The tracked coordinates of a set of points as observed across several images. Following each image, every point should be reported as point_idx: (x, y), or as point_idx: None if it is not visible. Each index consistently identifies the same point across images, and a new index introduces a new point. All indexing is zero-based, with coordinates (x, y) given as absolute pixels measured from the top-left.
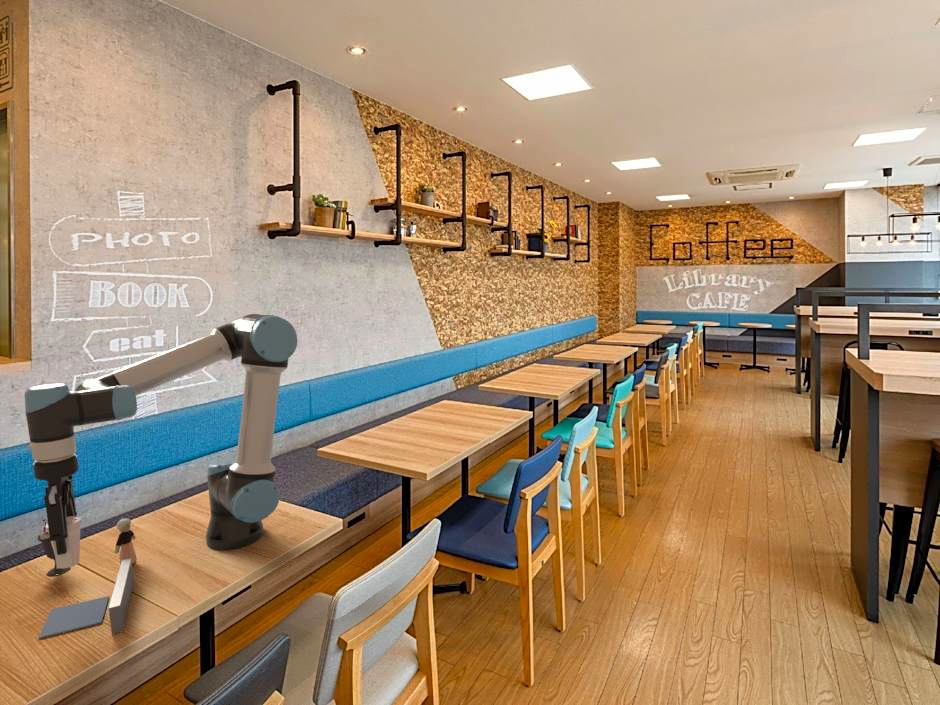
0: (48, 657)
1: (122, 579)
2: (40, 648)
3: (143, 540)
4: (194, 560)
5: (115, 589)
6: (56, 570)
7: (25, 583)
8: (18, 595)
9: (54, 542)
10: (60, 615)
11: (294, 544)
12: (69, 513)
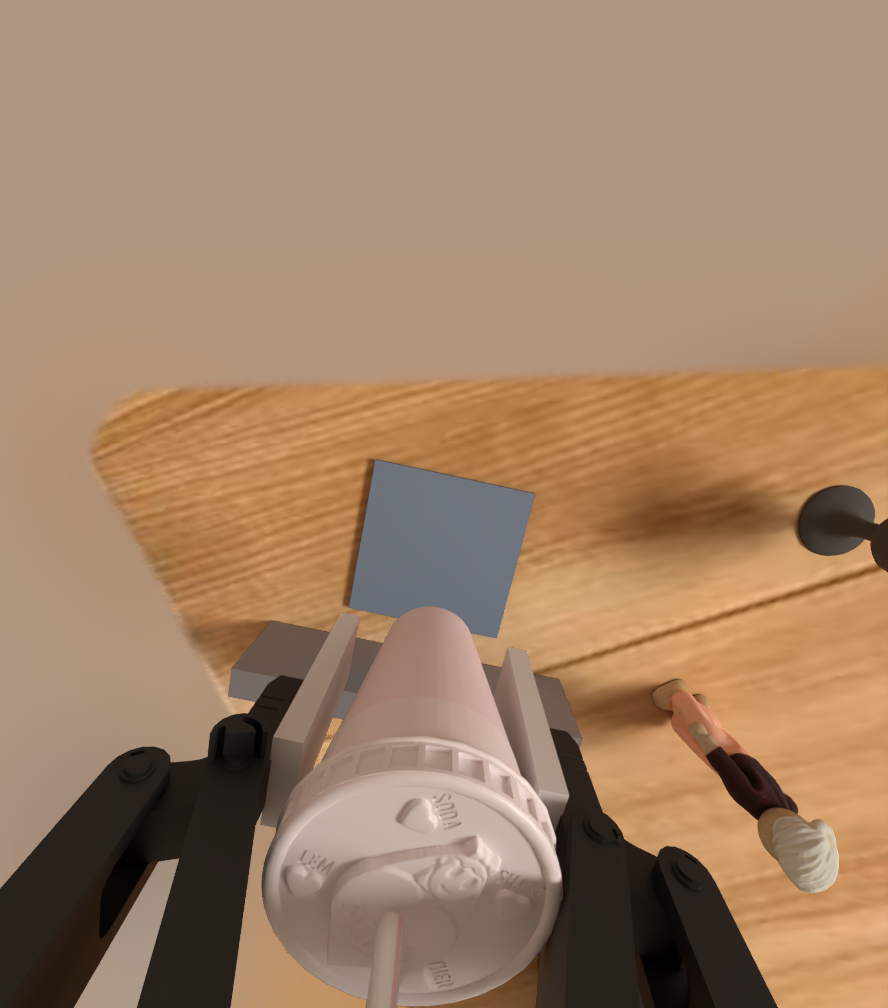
0: (257, 479)
1: None
2: (320, 462)
3: (847, 764)
4: None
5: (353, 697)
6: (830, 517)
7: (826, 421)
8: (741, 402)
9: (280, 725)
10: (470, 516)
11: None
12: (541, 990)
